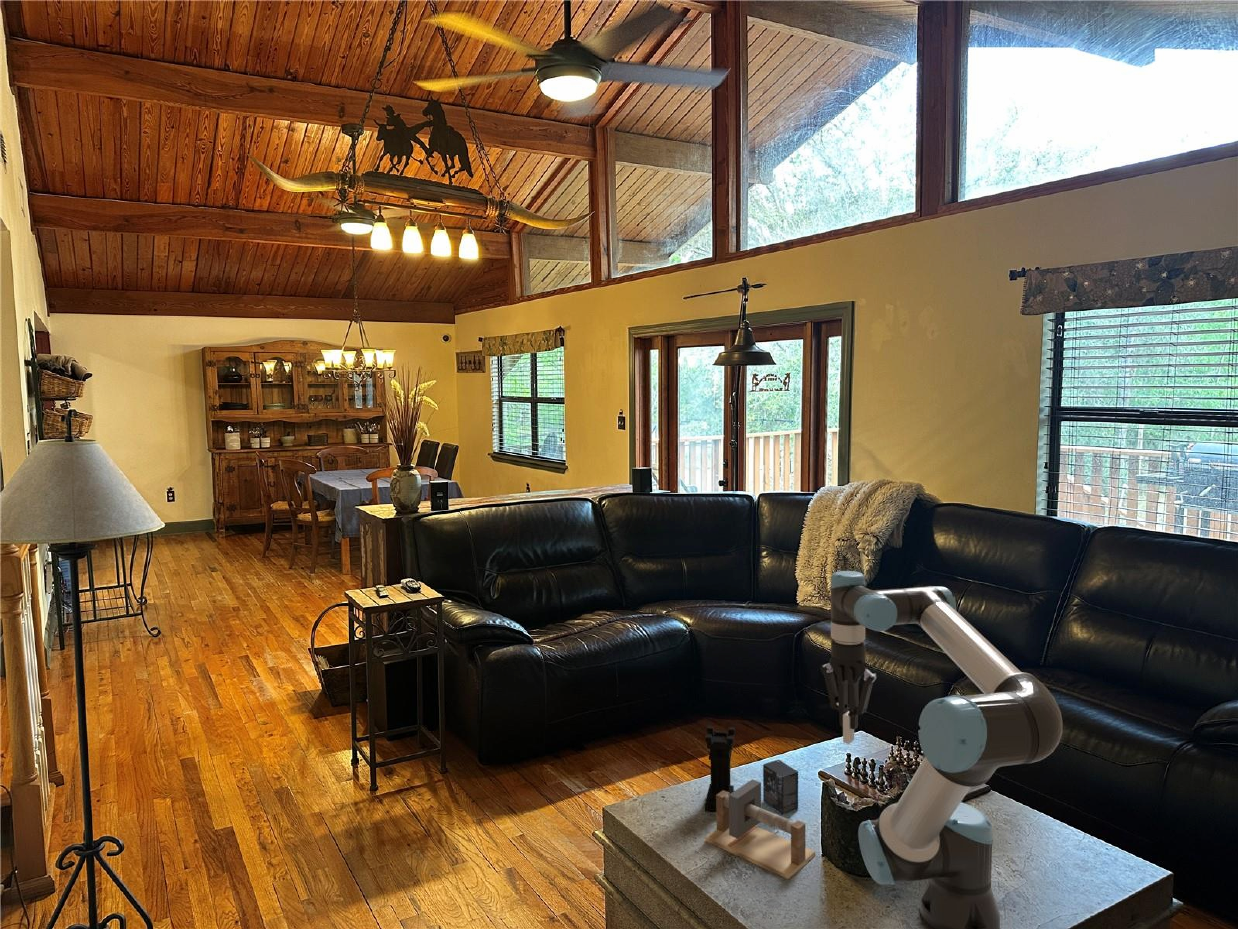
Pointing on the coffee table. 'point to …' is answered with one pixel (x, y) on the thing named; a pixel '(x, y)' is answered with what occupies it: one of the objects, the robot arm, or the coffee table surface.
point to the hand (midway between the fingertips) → (848, 741)
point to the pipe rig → (762, 839)
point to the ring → (737, 800)
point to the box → (780, 786)
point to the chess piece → (719, 764)
